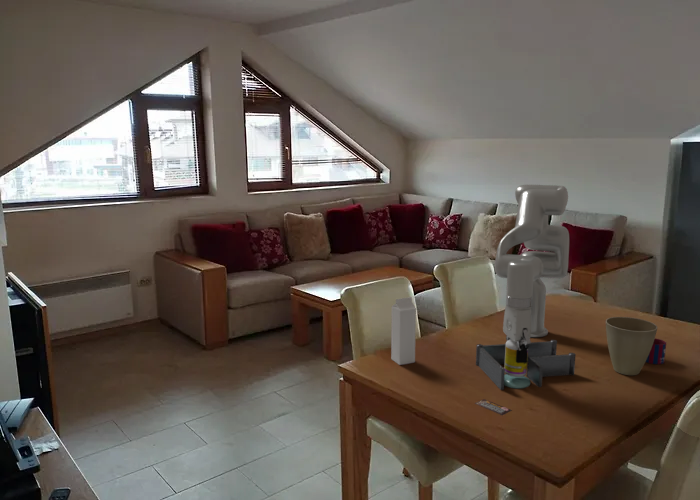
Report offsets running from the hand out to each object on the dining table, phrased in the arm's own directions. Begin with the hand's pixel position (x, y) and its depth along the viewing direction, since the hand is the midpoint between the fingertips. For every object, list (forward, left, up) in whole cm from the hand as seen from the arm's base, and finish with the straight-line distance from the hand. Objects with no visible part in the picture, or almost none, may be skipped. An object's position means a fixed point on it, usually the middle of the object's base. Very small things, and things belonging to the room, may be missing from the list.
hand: (516, 357), depth 178 cm
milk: (-22, -30, -8) cm, 38 cm away
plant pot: (-2, +39, -8) cm, 40 cm away
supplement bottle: (0, 0, -5) cm, 5 cm away
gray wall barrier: (-5, +7, -8) cm, 12 cm away
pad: (0, 0, -8) cm, 8 cm away
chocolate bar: (+15, -13, -9) cm, 22 cm away
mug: (-10, +52, -8) cm, 54 cm away
